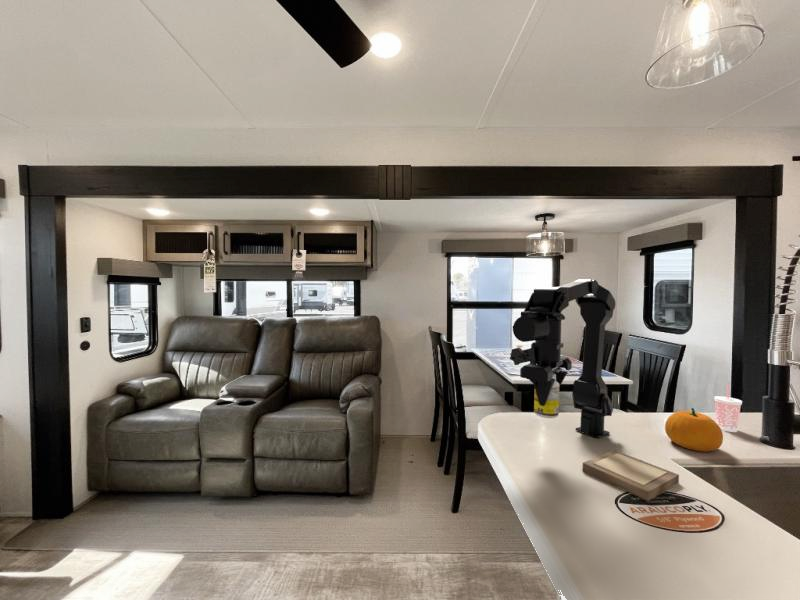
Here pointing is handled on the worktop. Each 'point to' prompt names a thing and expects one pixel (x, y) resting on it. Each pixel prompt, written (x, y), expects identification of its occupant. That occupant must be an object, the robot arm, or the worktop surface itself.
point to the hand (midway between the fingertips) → (546, 402)
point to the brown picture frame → (631, 474)
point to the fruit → (694, 431)
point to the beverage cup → (727, 412)
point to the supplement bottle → (548, 402)
